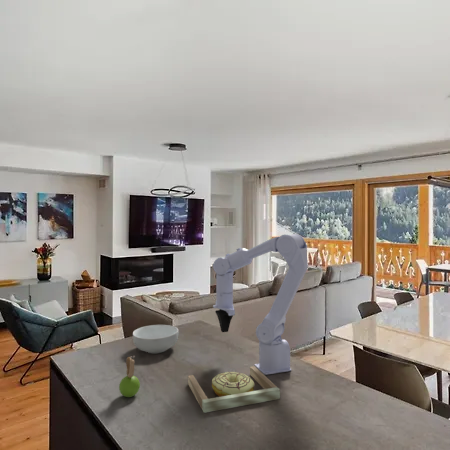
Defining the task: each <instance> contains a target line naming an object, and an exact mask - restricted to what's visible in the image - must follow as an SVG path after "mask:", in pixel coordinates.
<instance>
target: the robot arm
mask: <svg viewBox="0 0 450 450" xmlns="http://www.w3.org/2000/svg"><path fill="white" fill-rule="evenodd" d="M307 250H308V245H307V242H306V241H305V239H304V238H303V236H302V235H300V234H298V233H292V234H282V235H279V236H275V237H273V238H270V239H268V240H265V241H264V242H262V243H260V244H258V245H256V246H253V247H251V248H249V249H247V248H245V247H237V248H236V251H233V252H231V253H227V254H225V256H224V257H217V258H216V259H215V260H214V261H213V264H212V267H213V271H214V272H215V274H216V276H215V280H216V286H215V289H216V292H215V293H216V297H215V299H216V300H215V304H213V305H212V308H213V309H218V310H215V314H216V316H217V318H218V323H219V326H220V327H219V328H220V331H221V333H229V329H230V325H231V322H232V319H233V318H234V317H233V316H235V315H236V314H235V313H236V311H235V310H236V309H235V308H234V272H235V271H237V270H239V269H242V268H244V267H246V266H248V265H250V264H251V263H252V261H253V259H255V258H257V257H259V256H262V255H266V254H268V253H270V252H274V253H279V255H281V256H282V257H283V259H284V260H285V261H286V263H287V265H288V270H287V272H286V274H285V277H284V279H283V281H282V283H281V286H280V288H279V290H278V292H277V294H276V296H275V298H274V301H273V303H272V305H271V308H270V310H269V312H268V313H267V314H266V315H265V317H263V320H262V321H261V323H259V324H258V325H257V327H256V329H255V336H256V338H257V340H258V346H259V347H258V354H259V355H258V359H259V360H258V363H254V365H253V366H255V367H256V368H257V369H258V370H259V371H260V372H261V373H262V374H264V375H265V376H266V375H273V374H279V373H285V372H291V371H292V368H291V347H290V344H289V342H288V341H287V340H286V339H283V338H282V335H283V334H284V332H285V328H286V327H285V324H286V321H287V317H286V315H287V313H288V311H289V310H290V307H291V305H292V303H293V300H294V299H295V297H296V295H297V292H298V290H299V288H300V286H301V283H302V282H303V279H304V276H305V275H306V273H307V270H308V268H309V261H308V251H307Z"/></svg>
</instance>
